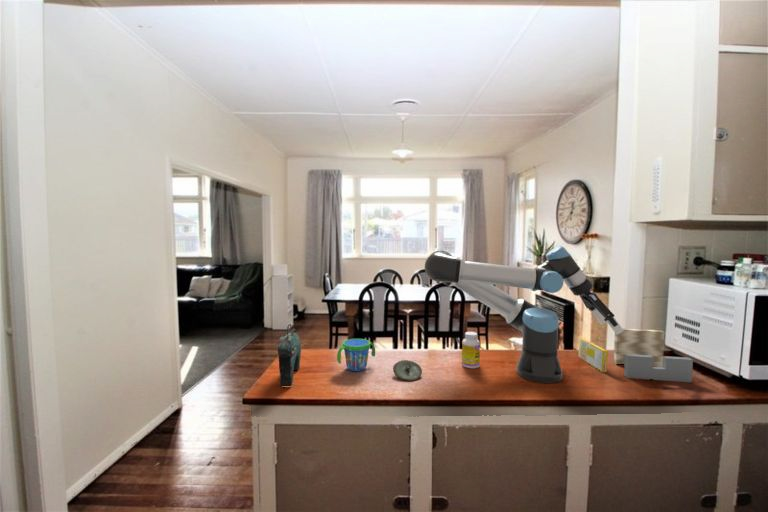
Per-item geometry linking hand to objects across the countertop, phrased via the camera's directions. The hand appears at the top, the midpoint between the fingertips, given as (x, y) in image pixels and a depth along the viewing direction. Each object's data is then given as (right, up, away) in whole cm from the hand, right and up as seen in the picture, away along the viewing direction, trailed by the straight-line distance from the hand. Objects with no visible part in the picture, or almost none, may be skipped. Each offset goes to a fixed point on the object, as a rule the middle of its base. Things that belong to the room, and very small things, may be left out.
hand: (611, 327), depth 131 cm
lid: (-79, -16, -7) cm, 81 cm away
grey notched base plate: (+9, -16, -10) cm, 21 cm away
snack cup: (-98, -16, 0) cm, 99 cm away
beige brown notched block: (+12, -15, +2) cm, 19 cm away
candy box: (-5, -16, +4) cm, 17 cm away
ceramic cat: (-121, -16, -9) cm, 123 cm away
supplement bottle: (-54, -16, +2) cm, 56 cm away
